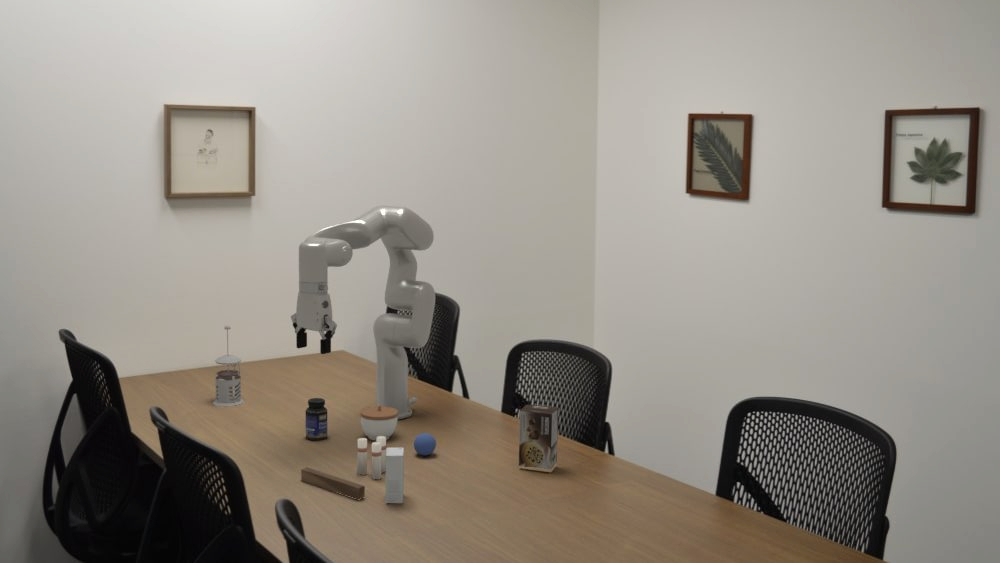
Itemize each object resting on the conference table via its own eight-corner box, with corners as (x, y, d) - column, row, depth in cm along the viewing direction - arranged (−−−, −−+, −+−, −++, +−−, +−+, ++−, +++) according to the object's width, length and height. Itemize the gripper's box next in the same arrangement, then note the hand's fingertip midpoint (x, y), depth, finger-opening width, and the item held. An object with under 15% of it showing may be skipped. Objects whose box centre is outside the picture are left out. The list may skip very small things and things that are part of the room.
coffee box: (557, 466, 256) (559, 407, 254) (550, 474, 250) (552, 413, 248) (524, 461, 259) (526, 403, 256) (517, 469, 253) (519, 409, 250)
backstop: (307, 478, 242) (307, 467, 241) (364, 498, 230) (364, 486, 230) (301, 480, 240) (301, 469, 240) (358, 500, 228) (358, 488, 228)
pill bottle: (322, 441, 271) (322, 403, 269) (302, 439, 272) (301, 402, 270) (330, 435, 277) (330, 398, 275) (310, 433, 278) (310, 396, 276)
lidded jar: (405, 437, 276) (406, 406, 275) (376, 445, 269) (376, 413, 267) (381, 429, 284) (381, 398, 282) (352, 436, 276) (352, 405, 275)
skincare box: (385, 494, 232) (386, 447, 231) (403, 494, 233) (404, 447, 231) (385, 504, 226) (385, 455, 225) (403, 504, 227) (403, 455, 225)
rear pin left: (376, 475, 245) (376, 441, 244) (383, 477, 244) (383, 443, 243) (369, 478, 243) (369, 443, 242) (376, 480, 242) (376, 445, 241)
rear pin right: (362, 470, 248) (362, 437, 247) (369, 473, 247) (369, 439, 246) (355, 473, 246) (355, 439, 245) (362, 475, 245) (362, 441, 244)
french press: (207, 405, 303) (205, 327, 300) (223, 395, 315) (222, 320, 311) (236, 407, 302) (235, 329, 298) (251, 397, 313) (251, 322, 309)
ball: (423, 449, 266) (424, 428, 265) (440, 454, 263) (440, 433, 262) (409, 455, 261) (409, 433, 261) (425, 460, 258) (426, 438, 257)
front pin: (380, 468, 250) (381, 435, 249) (387, 471, 249) (388, 437, 247) (374, 471, 248) (374, 437, 247) (381, 473, 247) (381, 439, 245)
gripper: (345, 290, 255) (345, 353, 258) (303, 282, 266) (303, 343, 269) (324, 293, 250) (324, 357, 252) (281, 285, 260) (281, 347, 263)
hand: (313, 350), depth 260 cm, fingers open, 9 cm apart
